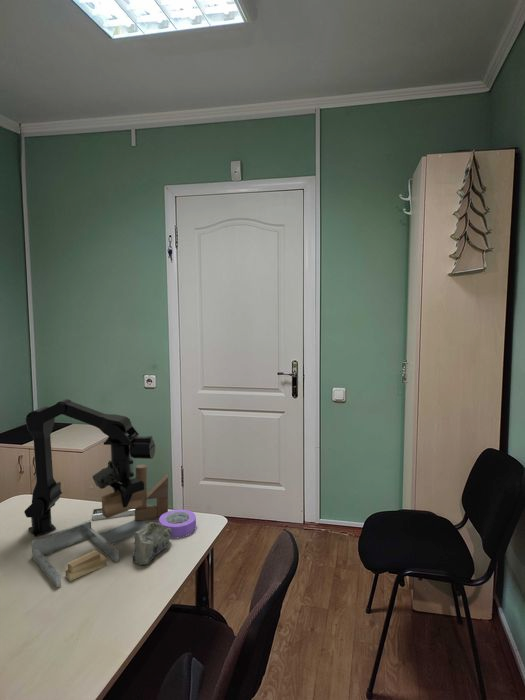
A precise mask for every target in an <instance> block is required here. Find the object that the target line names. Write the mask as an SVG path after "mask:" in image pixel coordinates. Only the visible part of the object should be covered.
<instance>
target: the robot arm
mask: <svg viewBox="0 0 525 700" xmlns="http://www.w3.org/2000/svg"><path fill="white" fill-rule="evenodd" d="M61 415H62V416H66V417H69V418H71V419H74V420H77V421H79V422H81V423H84V424H88V425H90V426H93V427H95V428H97V429H99V430H100V431H101V432H102V433H103V434H104V435H106V436H108V438H107V439H106V440H105V441H104V442H103V445H104V446H105V445H106V446H110V460H108V462H107V467H105V468H102V469H101V470H100V471H98V472H96V473H95V474H93V476H92V479H93V482H94V484H95V486H96V487H98V488H99V489H100V490H102V489H105V488H106V487H108V486H109V487H111V488H112V490H113V492H117V491H119V492H120V493H121V498H122V504H123V507H124V508H125V507H127V506H128V503H129V501H130V499H131V497H132V495H133V493H136V492H139V491H142V490H144V489H145V483H144V482H143V481H141V480H140V479H138V478H136V477H135V478H134V472H132V470H131V466H132V465H133V464H134V460H133V459H139V460H140V459H142V460H143V459H145V460H146V459H148V460H152V459H153V458H154V457H155V454H156V444H155V440H153V439H154V438H153V436H152V435H150V436H149V435H148V436H139V432H138V431H137V430H136V429H135V427H134V426H133V425H132V422H131V419H130V418H129V417H128V416H125V415H120V414H110V413H109V414H108V413H104V412H101V411H98V410H96V409H94V408H90V407H88V406H84V405H82V404H80V403H77V402H74V401H72V400H71V399H66V398H65V399H62V400H61V401H58V402H56V403H55V404H54V405H52V406H42V407H39V408H36V409H35V410H32V411H30V412H29V413H28V414H26V417H25V422H26V427H27V431H28V433H29V434H30V436H31V437H32V440H33V450H34V452H33V453H34V464H35V465H34V466H35V467H34V468H35V478H36V481H35V485H34V487H33V492H32V496H31V503H30V505H28V507H27V508H25V510H23V513H24V515H25V517H26V518H30V519H31V526H29V527H28V529H27V530H28V531H29V532H30V533H31V534H32V536H33V537H37V536H40V535H44V534H46V533H50V532H53V531H55V530H56V529H57V527H56V526H55V525H54V524H53V523H52V510H51V509H52V508H53V507H55V506H56V502H58V501H59V499H60V498H61V495H62V494H63V492H62V490H61V487H62V483H61V482H60V481H59V482H58V481H56V480H55V479H54V473H53V472H54V469H53V458H52V457H53V456H52V455H53V454H52V442H51V441H52V440H51V439H52V438H51V434H52V432H53V429H54V426H55V418H56V417H59V416H61ZM127 434H128V435H127ZM131 458H133V459H131ZM132 477H133V478H132Z"/></svg>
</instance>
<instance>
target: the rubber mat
mask: <svg viewBox="0 0 525 700" xmlns="http://www.w3.org/2000/svg"><path fill="white" fill-rule="evenodd" d="M146 525H147V524H145V523H144V522H143V520H136V521H135V519H133V520H132V521H128V522H126V523H124V524H121V525H118V526H115V527H113V528H110V529H108V530H105V531H102V532H98V534H100V535H101V536H102V537H103V538H104V539H105V540H107V541H108V542H109V543H110V544H111V545H114V544H116V543H119V542H120V541H121V542H122V541H123V540H126V539H128V538H131V537H134V534H135V532H137V531H139V530H140V529H142V528H143V527H145V526H146Z"/></svg>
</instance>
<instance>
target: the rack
mask: <svg viewBox="0 0 525 700" xmlns="http://www.w3.org/2000/svg"><path fill="white" fill-rule="evenodd" d="M87 539H89V540H91V542H93V544H95V545H96V546H97V547H99V549H100V550H101V551H103V553H105V554H106V555H107V556H108V557H110V559H112V560H113V561H114V562H115V563H117V562H119V561H120V552H119V551H120V550H119V549H117V548H116V547H115V546H114V544H110V543H109V542H108V541H107V540H105V539H104V538H103V537H102V536H101V535H100V534H99V532H98V531H96V530H95V529H94V528H92V522H91V520H87V521H84V522H81V523H78V524H76V525H73V526H70V527H67V528H65V529H61V530H58V531H56V532H54V533H50V534H48V535H45V536H41V537H40V538H36V539H33V540H31V542H30V543H31V546H30V547H31V557H32V558H31V559H33V561H35V563H36V564H37V565H38V566H39V568H40V569H41V570H42V571H43V573H44V574H45V576H47V578H48V579H49V580H50V582H51V583H52V584H54V585H55V587H56V588H60V587H61V586H62V579H61V573H59V572H58V571H57V570H56V568H55V567H54V566H53V565H52V563H50V561H49V560H48V559H47V558H46V557H45V555H48V554H50V553H53V552H56V551H59V550H61V549H63V548H66V547H68V546H71V545H74V544H77V543H80V542H82V541H85V540H87Z"/></svg>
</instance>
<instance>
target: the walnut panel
mask: <svg viewBox="0 0 525 700" xmlns="http://www.w3.org/2000/svg"><path fill="white" fill-rule="evenodd" d="M140 506H142V491H139V492H136V493H133V495H132V497H131V499H130V501H129V503H128V506H127V507H125V508H124V507H123V504H122V498H121V493H120V492H119V491H117V492H114V491H113V492H111V493H108V494H104V495H102V496H101V508H102V515H103V516H105V517H106V518H107V519H110V518H109V517H112V516H114V515H117V514H120V513H123V512H126V511H128V510H131V509H134V508H137V507H140Z"/></svg>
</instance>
